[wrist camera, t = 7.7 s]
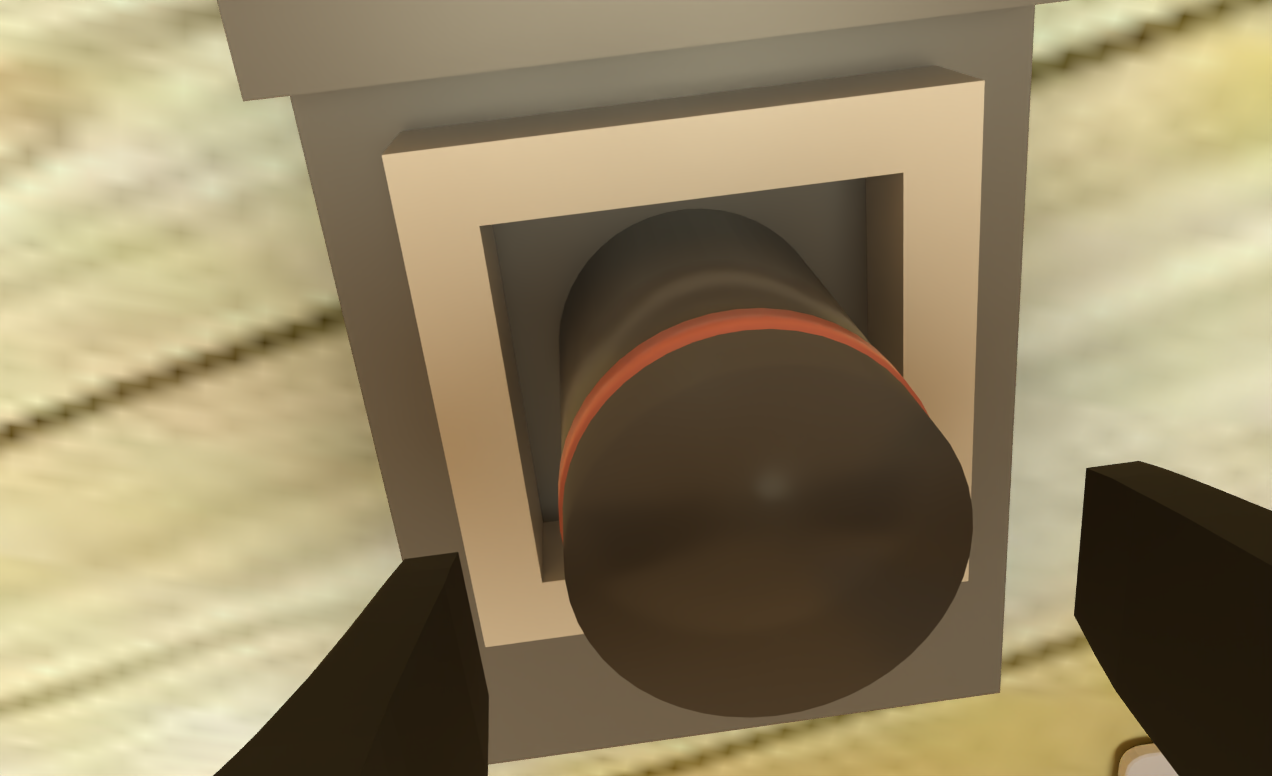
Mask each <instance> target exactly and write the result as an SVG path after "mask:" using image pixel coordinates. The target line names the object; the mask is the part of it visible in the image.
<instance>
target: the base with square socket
mask: <svg viewBox="0 0 1272 776" xmlns="http://www.w3.org/2000/svg"><path fill="white" fill-rule="evenodd" d="M1061 1H1069V0H217V3H218V7H219V10H220V14H221V18H222V22H223V26H224V29H225V33H226V37H227V41H228V45H229V49H230V52H231V56H232V60H233V64H234V68H235V72H236V75H237V79H238V83H239V87H240V91H241V95H242V98H243V101H250V100H258V99H266V98H274V97H283V96H290V98H291V102H292V106H293V110H294V115H295V119H296V123H297V127H298V131H299V135H300V139H301V143H302V148H303V152H304V156H305V160H306V164H307V168H308V172H309V176H310V181H311V185H312V189H313V193H314V197H315V201H316V205H317V210H318V214H319V218H320V222H321V226H322V230H323V234H324V238H325V243H326V247H327V251H328V255H329V259H330V263H331V267H332V271H333V276H334V280H335V284H336V288H337V292H338V296H339V300H340V304H341V309H342V313H343V317H344V321H345V325H346V329H347V333H348V337H349V342H350V346H351V350H352V354H353V358H354V362H355V366H356V371H357V375H358V379H359V383H360V387H361V391H362V395H363V399H364V404H365V408H366V412H367V416H368V420H369V424H370V428H371V432H372V437H373V441H374V445H375V449H376V453H377V457H378V461H379V465H380V470H381V474H382V478H383V482H384V486H385V490H386V494H387V498H388V503H389V507H390V511H391V515H392V519H393V523H394V527H395V532H396V536H397V540H398V544H399V548H400V552H401V556H402V560H404V559H408V558H416V557H423V556H431V555H438V554H446V553H453V552H458V553H459V557H460V562H461V567H462V571H463V576H464V581H465V586H466V590H467V595H468V600H469V604H470V609H471V614H472V618H473V623H474V628H475V632H476V637H477V642H478V646H479V651H480V656H481V660H482V665H483V670H484V674H485V679H486V684H487V689H488V693H489V742H488V765H489V764H496V763H503V762H510V761H517V760H524V759H531V758H538V757H546V756H553V755H560V754H567V753H574V752H581V751H588V750H595V749H602V748H610V747H617V746H624V745H631V744H638V743H645V742H652V741H659V740H667V739H674V738H681V737H688V736H695V735H702V734H709V733H716V732H724V731H731V730H738V729H745V728H752V727H759V726H766V725H773V724H781V723H788V722H795V721H802V720H809V719H816V718H823V717H830V716H838V715H845V714H852V713H859V712H866V711H873V710H880V709H887V708H894V707H902V706H909V705H916V704H923V703H930V702H937V701H944V700H951V699H959V698H966V697H973V696H980V695H987V694H994V693H1000V681H1001V661H1002V642H1003V622H1004V603H1005V583H1006V563H1007V544H1008V524H1009V504H1010V485H1011V465H1012V445H1013V426H1014V406H1015V387H1016V367H1017V347H1018V328H1019V308H1020V288H1021V269H1022V249H1023V229H1024V210H1025V190H1026V171H1027V151H1028V131H1029V112H1030V92H1031V72H1032V53H1033V33H1034V13H1035V5H1036V4H1044V3H1053V2H1061ZM683 209H713V210H722V211H726V212H731V213H735V214H739V215H741V216H744V217H747V218H749V219H752V220H755V221H757V222H758V223H760V224H762V225H764V226H766V227H768V228H770V229H771V230H772V231H774V232H775V233H776V234H778V235H779V236H780V237H782V238H783V239H784V240H785V241H786V242H787V243H788V244H789V245H790V246H791V247H792V248H794V249H795V250H796V252H797V253H798V254H799V255H800V257H801V258H802V259H803V260H804V262H805V263H806V264H807V265H808V267H809V268H810V269H811V270H812V272H813V273H814V274H815V275H816V277H817V278H818V279H819V280H820V282H821V283H822V284H823V285H824V286H825V288H826V289H827V290H828V291H829V293H830V294H831V295H832V296H833V298H834V299H835V300H836V301H837V303H838V304H839V305H840V306H841V308H842V309H843V310H844V311H845V313H846V314H847V315H848V316H849V318H850V319H851V320H852V321H853V323H854V324H855V325H856V326H857V328H858V329H859V330H860V331H861V333H862V334H863V335H864V336H865V338H866V339H867V340H868V341H869V343H870V344H871V345H872V346H873V347H875V348H876V349H877V350H878V351H879V352H880V353H881V354H882V355H883V356H884V357H885V358H886V359H887V360H888V361H889V362H890V363H891V364H892V365H893V366H894V367H895V368H896V370H897V371H898V372H899V373H900V375H901V376H902V377H903V378H904V379H905V381H906V382H907V383H908V384H909V386H910V387H911V388H912V390H913V391H914V392H915V394H916V395H917V396H918V398H919V399H920V400H921V402H922V404H923V406H924V407H925V409H926V411H927V413H928V415H929V417H930V419H931V420H932V421H933V422H934V424H935V425H936V426H937V427H938V429H939V430H940V431H941V433H942V434H943V435H944V437H945V438H946V439H947V441H948V442H949V443H950V445H951V447H952V448H953V450H954V452H955V454H956V456H957V458H958V460H959V462H960V463H961V466H962V469H963V471H964V474H965V477H966V480H967V483H968V486H969V491H970V497H971V503H972V509H973V535H972V543H971V550H970V556H969V560H968V563H967V567H966V570H965V574H964V577H963V580H962V582H961V584H960V586H959V589H958V591H957V593H956V596H955V598H954V600H953V601H952V603H951V605H950V606H949V608H948V610H947V611H946V613H945V615H944V616H943V618H942V620H941V621H940V622H939V623H938V625H937V626H936V627H935V629H934V630H933V631H932V632H931V634H930V635H929V636H928V638H927V639H926V640H925V641H924V642H923V643H922V644H921V645H920V646H919V647H918V648H917V649H916V650H915V651H914V652H913V653H912V654H911V655H910V656H909V657H907V658H906V659H905V660H904V661H903V662H901V663H900V664H899V665H898V666H896V667H895V668H894V669H893V670H892V671H890V672H889V673H887V674H886V675H884V676H882V677H881V678H879V679H878V680H876V681H875V682H873V683H872V684H870V685H868V686H866V687H864V688H862V689H860V690H859V691H857V692H855V693H853V694H851V695H849V696H846V697H844V698H841V699H839V700H836V701H834V702H831V703H829V704H826V705H823V706H819V707H816V708H812V709H809V710H805V711H802V712H796V713H790V714H785V715H779V716H769V717H755V718H746V717H724V716H717V715H710V714H703V713H699V712H695V711H692V710H688V709H684V708H680V707H677V706H675V705H672V704H670V703H667V702H664V701H662V700H659V699H657V698H655V697H653V696H652V695H650V694H648V693H646V692H644V691H642V690H640V689H638V688H637V687H635V686H634V685H633V684H631V683H630V682H628V681H627V680H626V679H624V678H623V677H621V676H620V675H619V674H618V673H617V672H616V671H615V670H613V669H612V668H611V667H610V666H609V665H608V664H607V663H606V662H605V661H604V660H603V659H602V658H601V657H600V655H599V654H598V653H597V652H596V650H595V649H594V648H593V646H592V645H591V644H590V643H589V641H588V640H587V638H586V636H585V634H584V633H583V631H582V629H581V627H580V626H579V624H578V622H577V619H576V617H575V614H574V612H573V609H572V607H571V604H570V601H569V597H568V592H567V587H566V583H565V574H564V558H563V542H562V538H561V533H560V525H559V508H558V480H559V469H560V461H561V405H560V353H559V335H560V323H561V318H562V314H563V309H564V305H565V302H566V300H567V297H568V294H569V292H570V289H571V287H572V285H573V284H574V282H575V280H576V278H577V276H578V274H579V273H580V272H581V270H582V269H583V267H584V266H585V265H586V263H587V262H588V261H589V259H590V258H591V257H592V256H593V255H594V254H595V253H596V252H597V251H598V250H599V249H600V248H601V247H602V246H603V245H604V244H605V243H607V242H608V241H609V240H610V239H612V238H613V237H614V236H615V235H617V234H618V233H620V232H622V231H623V230H625V229H626V228H628V227H630V226H631V225H633V224H636V223H638V222H640V221H642V220H644V219H647V218H649V217H652V216H656V215H659V214H662V213H666V212H671V211H677V210H683Z"/></svg>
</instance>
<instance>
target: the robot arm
mask: <svg viewBox="0 0 1272 776" xmlns="http://www.w3.org/2000/svg"><path fill="white" fill-rule="evenodd" d="M1074 616H1075V618H1076V620H1077V622H1078V624H1079V625H1080V627H1081V629H1082V631H1083V633H1084V635H1085V637H1086V639H1087V641H1088V643H1089V644H1090V646H1091V648H1092V650H1093V652H1094V654H1095V656H1096V658H1097V659H1098V661H1099V663H1100V665H1101V666H1102V668H1103V670H1104V671H1105V673H1106V675H1107V677H1108V678H1109V680H1110V682H1111V684H1112V685H1113V687H1114V689H1115V690H1116V692H1117V693H1118V695H1119V696H1120V697H1121V699H1122V700H1123V702H1124V703H1125V704H1126V706H1127V707H1128V709H1129V710H1130V711H1131V713H1132V714H1133V715H1134V717H1135V718H1136V719H1137V721H1138V722H1139V723H1140V725H1141V726H1142V727H1143V729H1144V730H1145V732H1146V733H1147V734H1148V736H1149V737H1150V738H1151V740H1152V741H1153V742H1154V743H1152V744H1145V745H1139V746H1135V747H1132V748H1131V749H1129V750H1127V751H1126V752H1125V753H1124V755H1123V756H1122V757H1121V760H1120V763H1119V771H1118V776H1272V511H1271V510H1268V509H1266V508H1263V507H1261V506H1258V505H1256V504H1253V503H1251V502H1248V501H1246V500H1243V499H1241V498H1239V497H1236V496H1234V495H1231V494H1229V493H1226V492H1224V491H1221V490H1219V489H1216V488H1214V487H1211V486H1209V485H1206V484H1204V483H1201V482H1198V481H1196V480H1193V479H1191V478H1188V477H1186V476H1183V475H1180V474H1177V473H1175V472H1172V471H1169V470H1166V469H1163V468H1160V467H1157V466H1154V465H1151V464H1147V463H1144V462H1141V461H1135V462H1128V463H1120V464H1113V465H1105V466H1098V467H1090V468H1086V479H1085V491H1084V503H1083V515H1082V527H1081V539H1080V551H1079V562H1078V574H1077V586H1076V598H1075V610H1074ZM488 742H489V693H488V689H487V684H486V679H485V674H484V670H483V665H482V660H481V656H480V651H479V646H478V642H477V637H476V632H475V628H474V623H473V618H472V614H471V609H470V604H469V600H468V595H467V590H466V586H465V581H464V576H463V571H462V567H461V562H460V557H459V553H458V552H453V553H446V554H438V555H431V556H423V557H416V558H408V559H404V560H403V562H402V563H401V564H400V565H399V566H398V568H397V569H396V570H395V571H394V572H393V574H392V575H391V576H390V577H389V578H388V580H387V581H386V582H385V583H384V585H383V586H382V587H381V589H380V590H379V591H378V592H377V594H376V595H375V596H374V597H373V599H372V600H371V601H370V603H369V604H368V605H367V606H366V608H365V609H364V610H363V611H362V613H361V614H360V615H359V617H358V618H357V619H356V620H355V622H354V623H353V624H352V625H351V627H350V628H349V629H348V630H347V632H346V633H345V634H344V635H343V637H342V638H341V639H340V640H339V641H338V643H337V644H336V645H335V646H334V647H333V649H332V650H331V651H330V652H329V653H328V655H327V656H326V657H325V658H324V659H323V661H322V662H321V663H320V664H319V665H318V667H317V668H316V669H315V670H314V672H313V673H312V674H311V675H310V676H309V677H308V679H307V680H306V681H305V682H304V683H303V684H302V685H301V686H300V687H299V688H298V689H297V691H296V692H295V693H294V694H293V695H292V696H291V697H290V698H289V699H288V700H287V701H286V702H285V704H284V705H283V706H282V707H281V708H280V709H279V710H278V711H277V712H276V713H275V714H274V716H273V717H272V718H271V719H270V720H269V721H268V722H267V723H266V724H265V725H264V726H263V727H262V729H261V730H260V731H259V732H258V733H257V734H256V735H255V736H254V737H253V738H252V739H251V740H250V741H249V742H248V743H247V744H246V745H245V746H244V747H243V748H242V749H241V750H240V751H239V752H238V753H237V754H236V755H235V756H234V757H233V758H232V759H230V760H229V761H228V762H227V763H226V764H225V765H224V766H223V767H222V768H221V769H220V770H219V771H218V772H217V773H216V774H214V775H213V776H488Z"/></svg>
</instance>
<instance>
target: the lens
mask: <svg viewBox="0 0 1272 776" xmlns="http://www.w3.org/2000/svg"><path fill="white" fill-rule="evenodd" d="M559 353H560V405H561V461H560V469H559V480H558V508H559V525H560V533H561V538H562V542H563V558H564V574H565V583H566V587H567V592H568V597H569V601H570V604H571V607H572V609H573V612H574V614H575V617H576V619H577V622H578V624H579V626H580V627H581V629H582V631H583V633H584V634H585V636H586V638H587V640H588V641H589V643H590V644H591V645H592V646H593V648H594V649H595V650H596V652H597V653H598V654H599V655H600V657H601V658H602V659H603V660H604V661H605V662H606V663H607V664H608V665H609V666H610V667H611V668H612V669H613V670H615V671H616V672H617V673H618V674H619V675H620V676H621V677H623V678H624V679H626V680H627V681H628V682H630V683H631V684H633V685H634V686H635V687H637V688H638V689H640V690H642V691H644V692H646V693H648V694H650V695H652V696H653V697H655V698H657V699H659V700H662V701H664V702H667V703H670V704H672V705H675V706H677V707H680V708H684V709H688V710H692V711H695V712H699V713H703V714H710V715H717V716H724V717H746V718H755V717H769V716H779V715H785V714H790V713H796V712H802V711H805V710H809V709H812V708H816V707H819V706H823V705H826V704H829V703H831V702H834V701H836V700H839V699H841V698H844V697H846V696H849V695H851V694H853V693H855V692H857V691H859V690H860V689H862V688H864V687H866V686H868V685H870V684H872V683H873V682H875V681H876V680H878V679H879V678H881V677H882V676H884V675H886V674H887V673H889V672H890V671H892V670H893V669H894V668H895V667H896V666H898V665H899V664H900V663H901V662H903V661H904V660H905V659H906V658H907V657H909V656H910V655H911V654H912V653H913V652H914V651H915V650H916V649H917V648H918V647H919V646H920V645H921V644H922V643H923V642H924V641H925V640H926V639H927V638H928V636H929V635H930V634H931V632H932V631H933V630H934V629H935V627H936V626H937V625H938V623H939V622H940V621H941V620H942V618H943V616H944V615H945V613H946V611H947V610H948V608H949V606H950V605H951V603H952V601H953V600H954V598H955V596H956V593H957V591H958V589H959V586H960V584H961V582H962V580H963V577H964V574H965V570H966V567H967V563H968V560H969V556H970V550H971V543H972V535H973V509H972V503H971V497H970V491H969V486H968V483H967V480H966V477H965V474H964V471H963V469H962V466H961V463H960V462H959V460H958V458H957V456H956V454H955V452H954V450H953V448H952V447H951V445H950V443H949V442H948V441H947V439H946V438H945V437H944V435H943V434H942V433H941V431H940V430H939V429H938V427H937V426H936V425H935V424H934V422H933V421H932V420H931V419H930V417H929V415H928V413H927V411H926V409H925V407H924V406H923V404H922V402H921V400H920V399H919V398H918V396H917V395H916V394H915V392H914V391H913V390H912V388H911V387H910V386H909V384H908V383H907V382H906V381H905V379H904V378H903V377H902V376H901V375H900V373H899V372H898V371H897V370H896V368H895V367H894V366H893V365H892V364H891V363H890V362H889V361H888V360H887V359H886V358H885V357H884V356H883V355H882V354H881V353H880V352H879V351H878V350H877V349H876V348H875V347H873V346H872V345H871V344H870V343H869V341H868V340H867V339H866V338H865V336H864V335H863V334H862V333H861V331H860V330H859V329H858V328H857V326H856V325H855V324H854V323H853V321H852V320H851V319H850V318H849V316H848V315H847V314H846V313H845V311H844V310H843V309H842V308H841V306H840V305H839V304H838V303H837V301H836V300H835V299H834V298H833V296H832V295H831V294H830V293H829V291H828V290H827V289H826V288H825V286H824V285H823V284H822V283H821V282H820V280H819V279H818V278H817V277H816V275H815V274H814V273H813V272H812V270H811V269H810V268H809V267H808V265H807V264H806V263H805V262H804V260H803V259H802V258H801V257H800V255H799V254H798V253H797V252H796V250H795V249H794V248H792V247H791V246H790V245H789V244H788V243H787V242H786V241H785V240H784V239H783V238H782V237H780V236H779V235H778V234H776V233H775V232H774V231H772V230H771V229H770V228H768V227H766V226H764V225H762V224H760V223H758V222H757V221H755V220H752V219H749V218H747V217H744V216H741V215H739V214H735V213H731V212H726V211H722V210H713V209H683V210H677V211H671V212H666V213H662V214H659V215H656V216H652V217H649V218H647V219H644V220H642V221H640V222H638V223H636V224H633V225H631V226H630V227H628V228H626V229H625V230H623V231H622V232H620V233H618V234H617V235H615V236H614V237H613V238H612V239H610V240H609V241H608V242H607V243H605V244H604V245H603V246H602V247H601V248H600V249H599V250H598V251H597V252H596V253H595V254H594V255H593V256H592V257H591V258H590V259H589V261H588V262H587V263H586V265H585V266H584V267H583V269H582V270H581V272H580V273H579V274H578V276H577V278H576V280H575V282H574V284H573V285H572V287H571V289H570V292H569V294H568V297H567V300H566V302H565V305H564V309H563V314H562V318H561V323H560V335H559Z"/></svg>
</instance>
